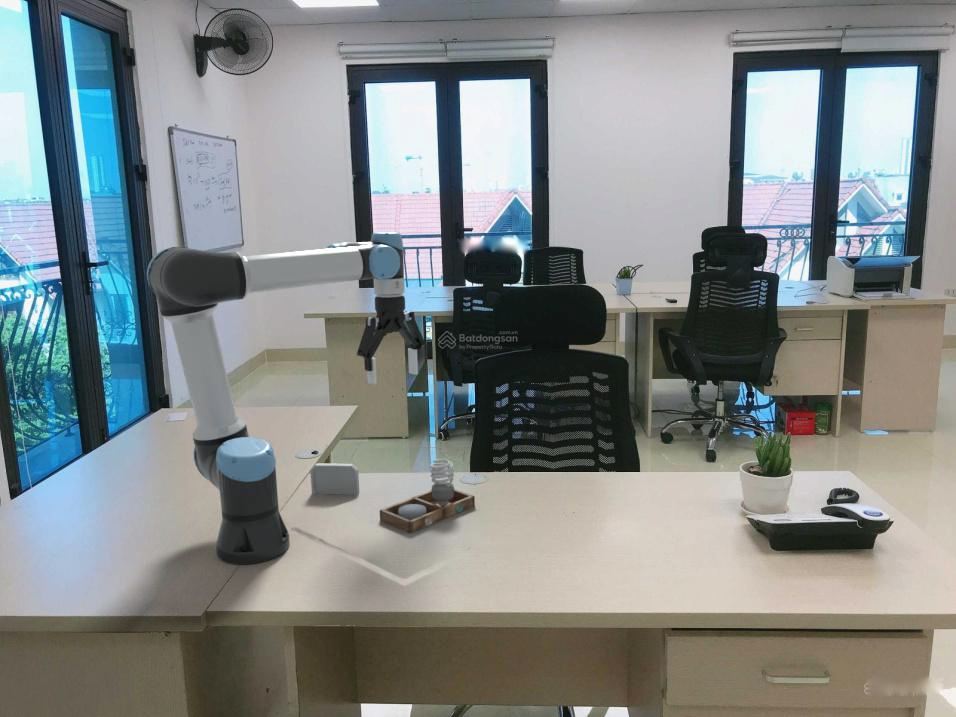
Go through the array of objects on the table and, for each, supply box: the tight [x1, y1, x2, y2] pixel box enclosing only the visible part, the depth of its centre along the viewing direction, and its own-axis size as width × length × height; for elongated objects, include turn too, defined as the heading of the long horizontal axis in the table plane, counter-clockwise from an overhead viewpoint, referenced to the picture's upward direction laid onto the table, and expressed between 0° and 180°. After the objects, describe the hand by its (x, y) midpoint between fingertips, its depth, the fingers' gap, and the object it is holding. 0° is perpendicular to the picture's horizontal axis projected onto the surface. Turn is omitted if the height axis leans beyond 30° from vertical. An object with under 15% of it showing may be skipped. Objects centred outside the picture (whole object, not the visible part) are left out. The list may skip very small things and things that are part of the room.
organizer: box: [379, 488, 476, 534], centre depth 181 cm, size 20×11×4 cm, turn 136°
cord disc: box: [398, 504, 426, 520], centre depth 178 cm, size 6×6×2 cm
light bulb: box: [429, 458, 455, 507], centre depth 183 cm, size 6×6×12 cm
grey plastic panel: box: [309, 462, 360, 496], centre depth 196 cm, size 2×12×8 cm, turn 84°
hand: (393, 378), depth 196 cm, fingers open, 13 cm apart
